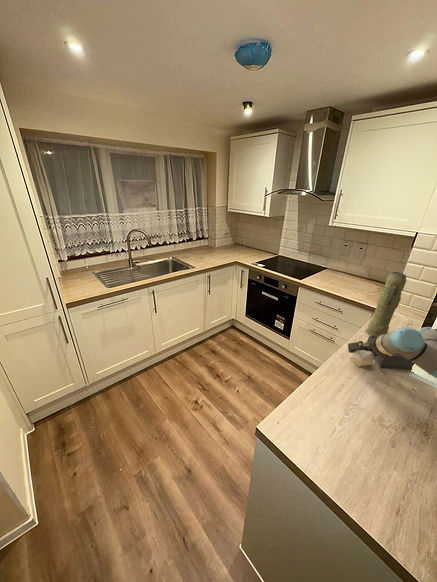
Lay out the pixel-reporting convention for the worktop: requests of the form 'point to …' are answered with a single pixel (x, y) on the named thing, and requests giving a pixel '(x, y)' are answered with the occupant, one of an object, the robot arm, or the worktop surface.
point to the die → (362, 357)
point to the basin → (392, 360)
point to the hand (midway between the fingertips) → (360, 351)
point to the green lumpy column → (387, 304)
